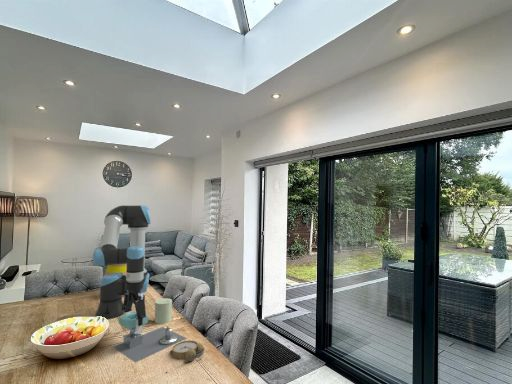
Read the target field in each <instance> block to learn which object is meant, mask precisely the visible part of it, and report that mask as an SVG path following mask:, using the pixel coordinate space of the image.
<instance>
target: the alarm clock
mask: <svg viewBox="0 0 512 384" xmlns="http://www.w3.org/2000/svg"><path fill="white" fill-rule="evenodd" d="M169 353H172V356H173V358H175V359H178V360H186V361H187V362H189V363H190V362H192V361H194V360H195V358H200V357H201V356H203V355H204V354H205V347H204V345H203V343H201V342H198V341H196V340H183V341H180V342H178V343H176V344H174V345H172V348H171V350H170V351H169Z"/></svg>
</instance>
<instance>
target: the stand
mask: <svg viewBox="0 0 512 384" xmlns="http://www.w3.org/2000/svg"><path fill="white" fill-rule="evenodd" d="M143 335H144V334H142V333H141V332H140V333H137V334H136V327H134V328H132V329H129V333H128V334H125V335H123V342H122V343H123V345H124V346H126V347H128V348H129V349H131V348H133V347H136V346H138V345H141V344H143Z"/></svg>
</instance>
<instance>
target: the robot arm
mask: <svg viewBox="0 0 512 384" xmlns="http://www.w3.org/2000/svg"><path fill="white" fill-rule="evenodd" d="M103 222H104V223H103V224H104V230H103V234H102V238H101V243H100V244H101V245H100V247H99V248H98V249H95V250H94V252H93V253H92V254H93V256H92V262H93V265H94V266H108V265H114V264H127V270H126V275H123V274H122V273H112V274H109V275H106V276H104V275H103V276H102V277H101V279H100V285H99V287H100V289H99V290H100V291H99V303H98V306H97V310H96V311H95V317H96V316H102V317H105V318H107V319H106V320H110V319H115V318H118V317H121V316H123V315H127V314H130V313H133V312H132V311H133V310H132V307H133V305H134V309H135V312H136V314H137V318H136V334H137V333H140V334H141V333H142V332H143V325H144V324H143V318H144V317H146V315H147V314H146V313H147V312H146V301H145V298H146V295H145V294H144V293H146V292H147V291H148V286H149V280H150V273H148V270H147V269H146V268H145V261H146V257H145V256H146V231H147V229H148V228H149V225H151V214H150V207H149V206H147V205H142V204H141V205H125V204H124V205H119V206H116V207H114V208H112V209H110V211H108V213H107V214H106V215H105V217H104V221H103ZM124 225H127V229H129V230H130V237H129V247H126V248H125V247H124V248H118V244H119V237H120V229H121V227H122V226H124ZM122 295H125V296H124V297H122ZM142 324H143V325H142Z"/></svg>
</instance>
